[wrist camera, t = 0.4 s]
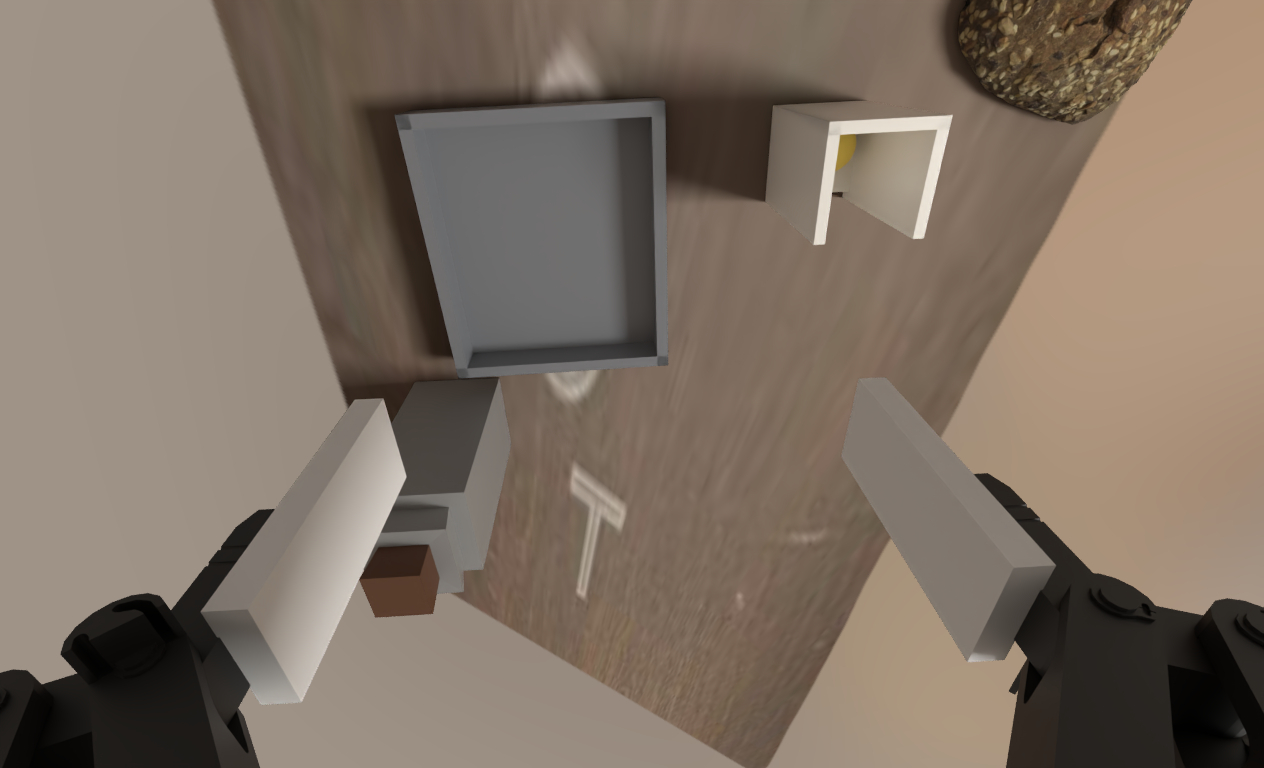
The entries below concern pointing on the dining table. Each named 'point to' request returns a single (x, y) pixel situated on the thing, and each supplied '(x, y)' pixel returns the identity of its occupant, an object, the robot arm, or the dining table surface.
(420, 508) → the perfume bottle
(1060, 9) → the bread roll
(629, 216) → the tray
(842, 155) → the ball
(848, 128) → the white u-shaped stool
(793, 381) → the dining table surface
